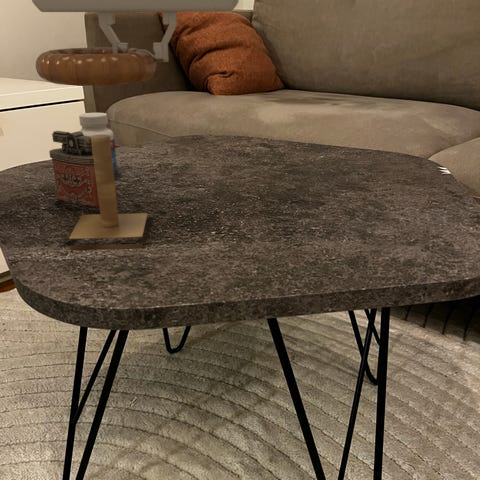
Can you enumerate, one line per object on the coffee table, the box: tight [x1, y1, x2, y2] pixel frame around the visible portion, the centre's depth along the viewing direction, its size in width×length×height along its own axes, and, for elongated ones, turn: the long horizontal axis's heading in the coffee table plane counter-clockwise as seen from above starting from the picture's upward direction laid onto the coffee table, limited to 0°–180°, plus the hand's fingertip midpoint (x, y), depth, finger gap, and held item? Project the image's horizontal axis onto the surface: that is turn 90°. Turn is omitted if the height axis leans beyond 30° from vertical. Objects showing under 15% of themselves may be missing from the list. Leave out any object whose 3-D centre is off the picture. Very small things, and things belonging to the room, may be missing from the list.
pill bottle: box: [78, 112, 118, 175], centre depth 88 cm, size 6×5×10 cm
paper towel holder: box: [68, 134, 148, 251], centre depth 66 cm, size 8×8×12 cm
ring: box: [35, 46, 157, 87], centre depth 61 cm, size 12×12×3 cm
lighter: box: [48, 130, 99, 207], centre depth 76 cm, size 8×3×10 cm, turn 59°
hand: (142, 62), depth 61 cm, fingers closed on ring, 3 cm apart
